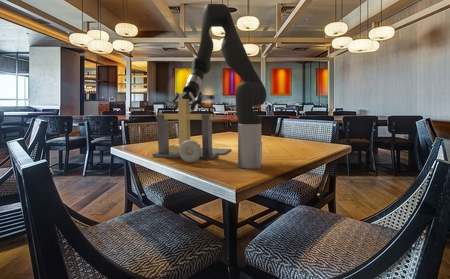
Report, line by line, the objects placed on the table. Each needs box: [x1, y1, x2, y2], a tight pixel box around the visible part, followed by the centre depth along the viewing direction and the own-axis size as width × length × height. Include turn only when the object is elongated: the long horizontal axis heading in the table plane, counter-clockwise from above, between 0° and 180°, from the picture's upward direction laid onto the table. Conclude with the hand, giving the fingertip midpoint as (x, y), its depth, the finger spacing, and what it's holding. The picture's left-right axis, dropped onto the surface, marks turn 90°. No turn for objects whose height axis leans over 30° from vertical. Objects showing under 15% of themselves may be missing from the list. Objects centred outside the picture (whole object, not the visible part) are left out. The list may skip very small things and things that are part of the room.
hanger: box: [155, 98, 214, 153], centre depth 124 cm, size 28×10×24 cm, turn 73°
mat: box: [201, 147, 232, 156], centre depth 138 cm, size 20×14×1 cm
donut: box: [179, 139, 202, 164], centre depth 112 cm, size 10×4×10 cm, turn 76°
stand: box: [151, 113, 219, 161], centre depth 125 cm, size 30×10×20 cm, turn 73°
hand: (183, 109), depth 122 cm, fingers open, 8 cm apart
